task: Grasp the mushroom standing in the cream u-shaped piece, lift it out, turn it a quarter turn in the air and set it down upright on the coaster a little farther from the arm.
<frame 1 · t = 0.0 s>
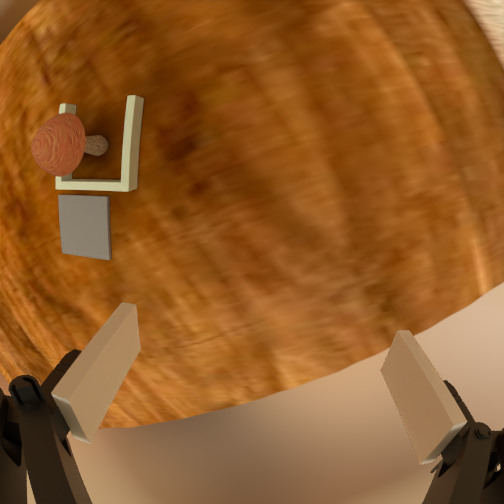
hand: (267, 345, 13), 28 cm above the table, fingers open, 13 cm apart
cream u-shaped piece: (100, 143, 37), on the table
mushroom: (101, 143, 37), on the table
coaster: (84, 225, 41), on the table
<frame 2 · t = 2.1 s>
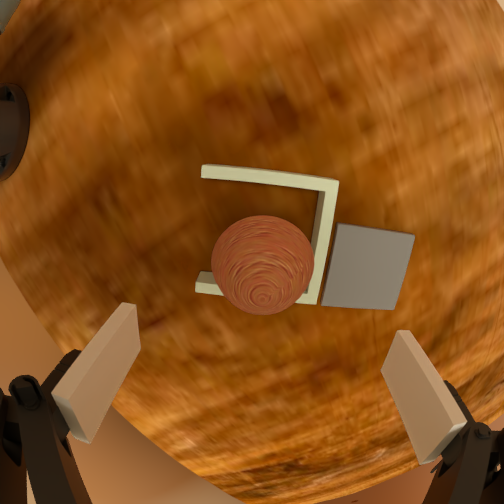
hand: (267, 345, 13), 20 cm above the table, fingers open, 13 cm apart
cream u-shaped piece: (262, 231, 32), on the table
mushroom: (262, 230, 32), on the table
coaster: (367, 268, 33), on the table
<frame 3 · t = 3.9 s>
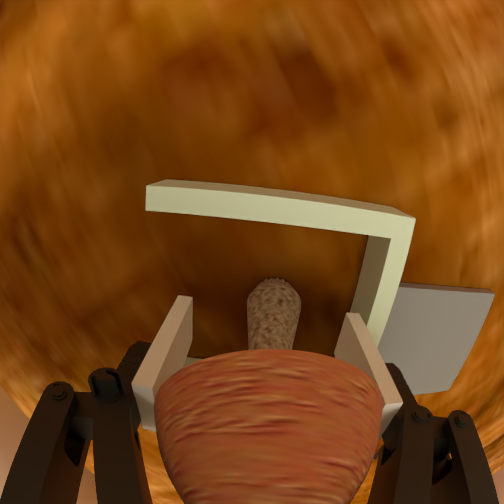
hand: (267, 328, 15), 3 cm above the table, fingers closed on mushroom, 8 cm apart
cream u-shaped piece: (267, 299, 18), on the table
mushroom: (266, 297, 18), on the table, touching gripper
coaster: (426, 343, 19), on the table
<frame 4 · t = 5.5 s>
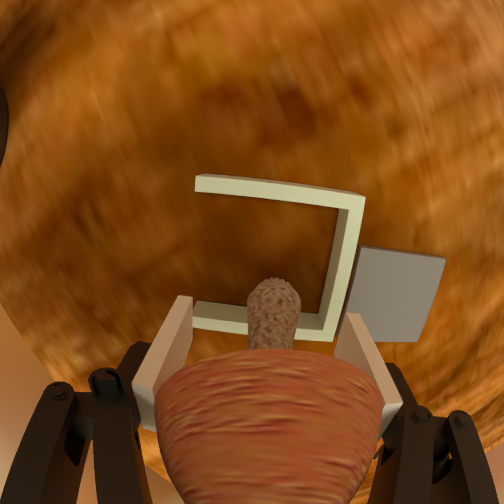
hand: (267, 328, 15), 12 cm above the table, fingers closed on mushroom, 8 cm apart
cream u-shaped piece: (270, 255, 26), on the table
mushroom: (266, 297, 18), point 9 cm above the table, touching gripper
coaster: (391, 297, 27), on the table
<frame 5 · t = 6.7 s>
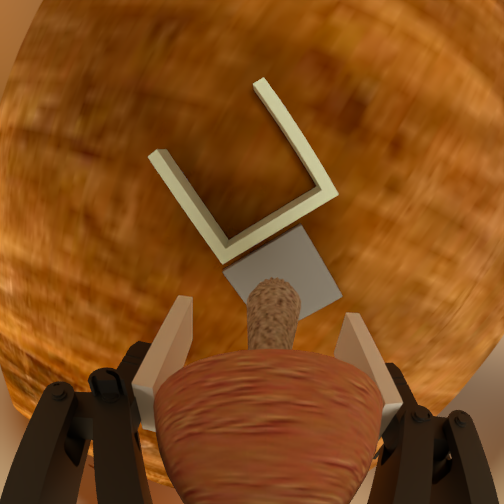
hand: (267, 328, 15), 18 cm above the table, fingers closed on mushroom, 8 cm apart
cream u-shaped piece: (243, 169, 29), on the table
mushroom: (266, 297, 18), point 14 cm above the table, touching gripper
coaster: (284, 282, 33), on the table
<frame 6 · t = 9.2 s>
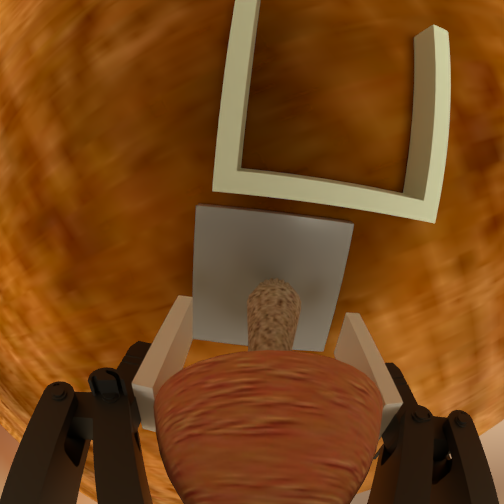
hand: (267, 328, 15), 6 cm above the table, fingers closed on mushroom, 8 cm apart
cream u-shaped piece: (337, 96, 16), on the table
mushroom: (266, 298, 18), point 2 cm above the table, touching gripper
coaster: (266, 282, 20), on the table
when the fingers open (5 cm above the table, at t = 9.8 s): mushroom drops 1 cm, resting on coaster.
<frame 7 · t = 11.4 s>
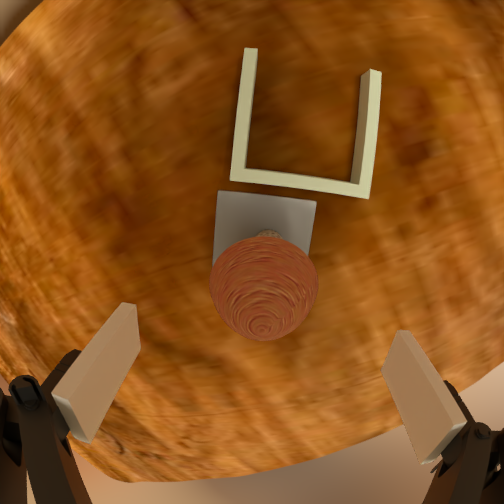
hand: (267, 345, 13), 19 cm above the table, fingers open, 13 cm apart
cream u-shaped piece: (305, 122, 27), on the table
mushroom: (264, 242, 31), point 1 cm above the table, touching coaster
coaster: (262, 241, 31), on the table
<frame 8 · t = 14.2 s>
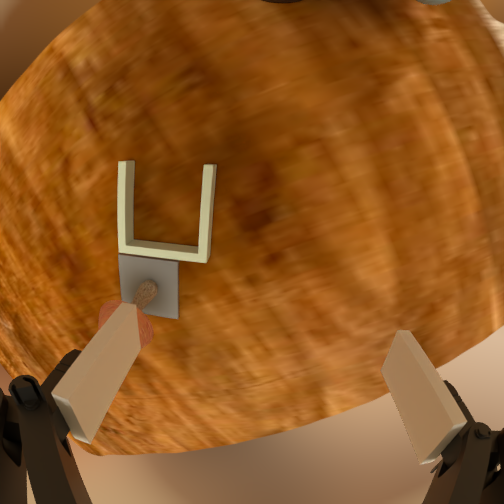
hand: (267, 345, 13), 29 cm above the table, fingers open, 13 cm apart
cream u-shaped piece: (167, 206, 41), on the table
mushroom: (149, 287, 44), point 1 cm above the table, touching coaster
coaster: (149, 285, 45), on the table
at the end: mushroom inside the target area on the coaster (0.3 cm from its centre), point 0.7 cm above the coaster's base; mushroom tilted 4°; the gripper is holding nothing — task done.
